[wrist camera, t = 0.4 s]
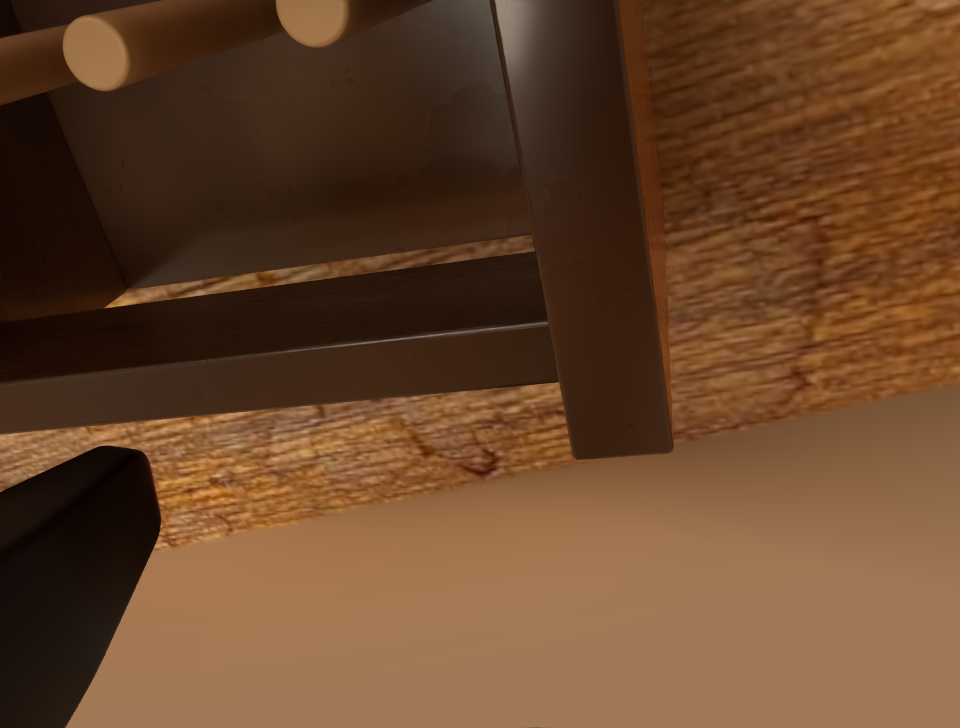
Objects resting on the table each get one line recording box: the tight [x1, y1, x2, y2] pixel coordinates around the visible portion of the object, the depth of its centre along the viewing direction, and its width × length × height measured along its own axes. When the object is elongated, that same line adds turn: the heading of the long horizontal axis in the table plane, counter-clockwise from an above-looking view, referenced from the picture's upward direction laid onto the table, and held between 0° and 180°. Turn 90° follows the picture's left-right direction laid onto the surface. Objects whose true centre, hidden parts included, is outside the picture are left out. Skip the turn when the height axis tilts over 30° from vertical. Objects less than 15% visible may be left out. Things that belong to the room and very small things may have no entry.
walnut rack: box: [0, 0, 674, 460], centre depth 14 cm, size 11×14×10 cm
